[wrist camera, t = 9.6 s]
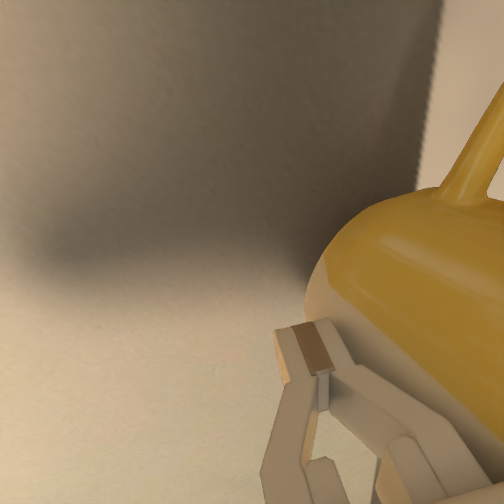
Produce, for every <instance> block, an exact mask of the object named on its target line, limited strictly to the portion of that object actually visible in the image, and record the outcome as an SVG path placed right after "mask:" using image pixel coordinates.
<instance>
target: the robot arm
mask: <svg viewBox="0 0 504 504" xmlns="http://www.w3.org/2000/svg"><path fill="white" fill-rule="evenodd" d="M273 334H274V341H275V349H276V356H277V360H278V365H279V370H280V374H281V377H282V380H283V383H284V390H283V394H282V397H281V400H280V404H279V407H278V411H277V414H276V418H275V421H274V425H273V428H272V431H271V435H270V438H269V442H268V445H267V449H266V452H265V456H264V459H263V462H262V466H261V469H260V477H261V483H262V488H263V493H264V499H265V504H350V503H349V500H348V498H347V495H346V492H345V490H344V487H343V484H342V482H341V479H340V476H339V474H338V471H337V468H336V466H335V463H334V461H333V460H331V459H329V458H327V457H326V456H325V457H321V458H318V459H314V460H311V456H312V451H313V445H314V439H315V433H316V427H317V421H318V415H319V414H318V413H320V412H323V411H327V410H329V412H330V413H331V414H332V415H333V416H334V417H336V418H337V419H338V420H339V421H340V422H341V423H342V424H343V425H344V426H345V427H346V428H348V429H349V430H350V431H351V432H352V433H353V434H354V435H355V436H356V437H357V438H358V439H360V440H361V441H362V442H363V443H364V444H365V445H366V446H367V447H368V448H369V449H370V450H372V451H373V452H374V453H375V454H376V455H377V456H378V457H379V458H380V459H381V460H382V463H381V466H380V470H379V474H378V478H377V482H376V485H375V489H376V491H377V494H378V496H379V498H380V501H381V503H382V504H504V482H500V483H497V484H494V485H493V484H492V482H491V481H490V480H489V478H488V477H487V475H486V474H485V472H484V471H483V469H482V468H481V466H480V465H479V463H478V462H477V460H476V459H475V458H474V456H473V455H472V453H471V452H470V450H469V449H468V447H467V446H466V444H465V443H464V441H463V440H462V439H461V437H460V436H459V434H458V433H457V431H456V430H455V428H454V427H453V425H452V424H451V422H450V421H449V420H448V419H446V418H445V417H443V416H441V415H440V414H438V413H437V412H435V411H434V410H432V409H431V408H429V407H427V406H426V405H424V404H423V403H421V402H420V401H418V400H417V399H415V398H413V397H412V396H410V395H409V394H407V393H406V392H404V391H403V390H401V389H400V388H398V387H396V386H395V385H393V384H392V383H390V382H389V381H387V380H386V379H384V378H382V377H381V376H379V375H378V374H376V373H375V372H373V371H372V370H370V369H368V368H367V367H365V366H364V365H362V364H358V365H356V364H355V362H354V361H353V359H352V357H351V355H350V353H349V351H348V349H347V347H346V345H345V344H344V342H343V340H342V338H341V336H340V334H339V332H338V330H337V329H336V327H335V325H334V323H333V321H332V319H330V318H329V317H327V318H323V319H319V320H315V321H312V322H311V321H310V322H306V323H302V324H298V325H294V326H290V327H286V328H282V329H277V330H274V331H273Z"/></svg>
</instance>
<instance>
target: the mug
mask: <svg viewBox="0 0 504 504" xmlns="http://www.w3.org/2000/svg"><path fill="white" fill-rule="evenodd" d="M503 157H504V83H503V84H502V86H501V87H500V89H499V90H498V92H497V93H496V95H495V97H494V98H493V100H492V102H491V103H490V105H489V107H488V108H487V110H486V111H485V113H484V115H483V116H482V118H481V120H480V121H479V123H478V125H477V126H476V128H475V130H474V131H473V133H472V135H471V137H470V138H469V140H468V142H467V143H466V145H465V147H464V149H463V150H462V152H461V154H460V155H459V157H458V159H457V161H456V162H455V164H454V166H453V167H452V169H451V171H450V172H449V174H448V175H447V176H446V178H445V179H444V181H443V182H442V184H441V185H440V187H432V188H426V189H422V190H418V191H415V192H411V193H408V194H405V195H401V196H398V197H394V198H390V199H387V200H383V201H381V202H378V203H375V204H373V205H372V206H370V207H368V208H366V209H365V210H363V211H362V212H360V213H359V214H358V215H356V216H355V217H354V218H353V219H351V220H350V221H349V222H348V223H347V224H346V225H345V226H344V227H343V228H342V229H341V230H340V231H339V232H338V233H337V235H336V236H335V237H334V238H333V240H332V241H331V242H330V243H329V245H328V246H327V248H326V249H325V251H324V252H323V254H322V255H321V257H320V259H319V261H318V262H317V264H316V266H315V268H314V271H313V273H312V275H311V277H310V280H309V284H308V287H307V291H306V296H305V316H306V322H310V321H311V322H312V321H315V320H319V319H323V318H327V317H329V318H330V319H332V321H333V323H334V325H335V327H336V329H337V330H338V332H339V334H340V336H341V338H342V340H343V342H344V344H345V345H346V347H347V349H348V351H349V353H350V355H351V357H352V359H353V361H354V362H355V364H356V365H358V364H362V365H364V366H365V367H367V368H368V369H370V370H372V371H373V372H375V373H376V374H378V375H379V376H381V377H382V378H384V379H386V380H387V381H389V382H390V383H392V384H393V385H395V386H396V387H398V388H400V389H401V390H403V391H404V392H406V393H407V394H409V395H410V396H412V397H413V398H415V399H417V400H418V401H420V402H421V403H423V404H424V405H426V406H427V407H429V408H431V409H432V410H434V411H435V412H437V413H438V414H440V415H441V416H443V417H445V418H446V419H448V420H449V421H450V422H451V424H452V425H453V427H454V428H455V430H456V431H457V433H458V434H459V436H460V437H461V439H462V440H463V441H464V443H465V444H466V446H467V447H468V449H469V450H470V452H471V453H472V455H473V456H474V458H475V459H476V460H477V462H478V463H479V465H480V466H481V468H482V469H483V471H484V472H485V474H486V475H487V477H488V478H489V480H490V481H491V482H492V484H493V485H494V484H497V483H500V482H504V201H500V200H496V199H492V198H488V196H487V189H488V187H489V185H490V182H491V181H492V179H493V177H494V175H495V173H496V171H497V169H498V167H499V164H500V162H501V161H502V159H503Z"/></svg>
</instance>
